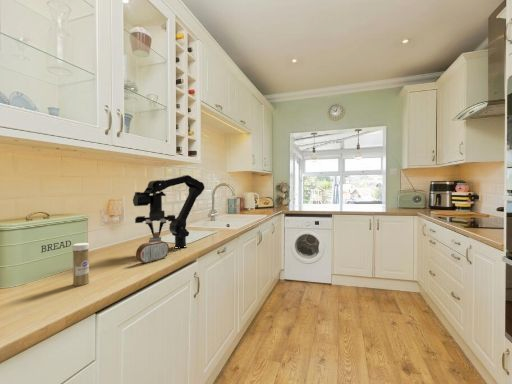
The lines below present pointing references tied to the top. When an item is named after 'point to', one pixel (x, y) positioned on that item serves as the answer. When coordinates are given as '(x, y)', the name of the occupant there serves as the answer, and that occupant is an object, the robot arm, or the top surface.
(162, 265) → the top surface
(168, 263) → the top surface
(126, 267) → the top surface
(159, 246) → the tin
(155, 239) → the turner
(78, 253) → the sprinkles bottle
